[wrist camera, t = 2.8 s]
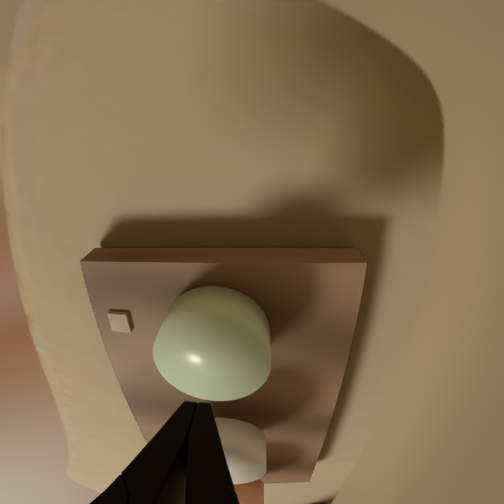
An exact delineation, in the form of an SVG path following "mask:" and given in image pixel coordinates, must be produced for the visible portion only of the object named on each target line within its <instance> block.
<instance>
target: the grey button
mask: <svg viewBox="0 0 504 504" xmlns="http://www.w3.org/2000/svg"><path fill="white" fill-rule="evenodd" d="M215 421H216V424H217V428H218V432H219V436H220V439H221V443H222V447H223V450H224V454H225V457H226V461H227V464H228V468H229V471H230V475H231V478H232V481H233V484H243V483H249V482H253V481H256V480H258V479H260V478H261V477H263V476H264V475H265V473H266V471H267V468H266V436H265V434H264V433H263V432H262V431H261V430H260V429H259V428H258V427H256V426H254V425H252V424H250V423H247V422H244V421H241V420H236V419H230V418H215Z"/></svg>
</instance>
